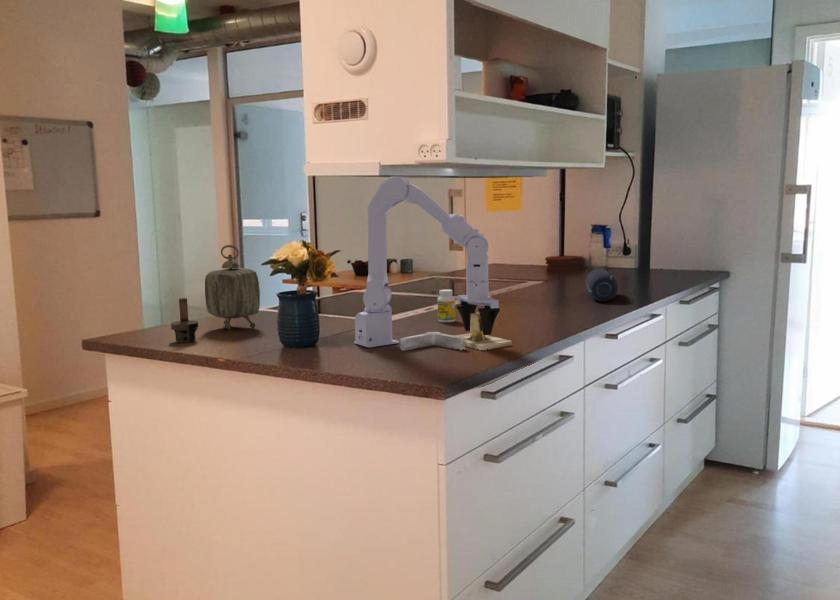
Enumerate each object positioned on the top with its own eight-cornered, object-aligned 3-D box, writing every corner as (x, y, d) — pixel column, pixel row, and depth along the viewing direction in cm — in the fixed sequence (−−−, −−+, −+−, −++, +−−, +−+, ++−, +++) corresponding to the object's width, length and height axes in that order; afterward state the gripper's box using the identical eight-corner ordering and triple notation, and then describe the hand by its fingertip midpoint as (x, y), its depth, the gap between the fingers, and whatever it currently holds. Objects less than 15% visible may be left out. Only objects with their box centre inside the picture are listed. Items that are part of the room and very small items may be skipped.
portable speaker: (618, 303, 268) (619, 274, 266) (589, 303, 269) (589, 274, 268) (612, 293, 292) (612, 267, 291) (584, 293, 294) (585, 267, 292)
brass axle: (476, 345, 200) (476, 315, 199) (467, 343, 204) (466, 313, 203) (488, 343, 203) (488, 313, 202) (479, 341, 206) (478, 311, 205)
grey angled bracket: (465, 350, 195) (465, 338, 195) (400, 350, 196) (400, 339, 196) (465, 342, 204) (464, 331, 204) (402, 343, 205) (402, 332, 205)
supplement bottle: (458, 320, 239) (457, 289, 238) (450, 323, 234) (449, 291, 233) (442, 319, 242) (442, 288, 240) (434, 322, 237) (434, 290, 236)
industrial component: (205, 340, 215) (202, 297, 213) (184, 345, 209) (181, 301, 208) (183, 337, 221) (180, 295, 219) (162, 341, 215) (159, 298, 213)
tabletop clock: (261, 327, 233) (257, 244, 230) (240, 332, 226) (235, 246, 222) (226, 324, 241) (221, 243, 237) (204, 329, 233) (199, 245, 229)
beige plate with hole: (511, 345, 200) (511, 340, 200) (481, 350, 194) (481, 345, 194) (474, 336, 212) (474, 332, 212) (445, 341, 207) (445, 337, 206)
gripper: (507, 282, 197) (507, 334, 199) (472, 277, 209) (472, 327, 211) (486, 284, 193) (486, 338, 195) (451, 279, 205) (452, 330, 207)
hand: (478, 332), depth 203 cm, fingers open, 7 cm apart
